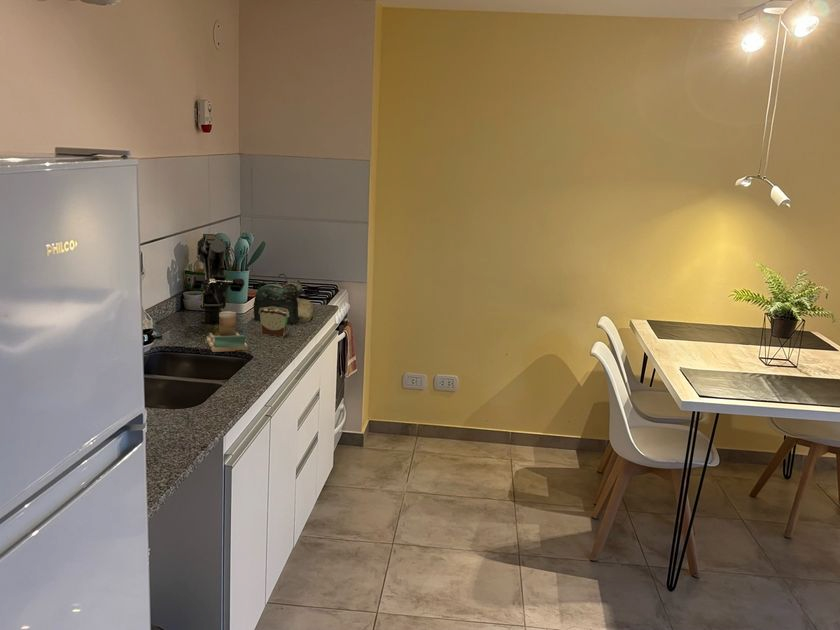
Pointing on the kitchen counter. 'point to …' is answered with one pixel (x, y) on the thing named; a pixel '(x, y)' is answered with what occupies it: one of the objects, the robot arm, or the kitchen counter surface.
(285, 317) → the food container
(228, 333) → the brown cup
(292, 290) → the ceramic cat
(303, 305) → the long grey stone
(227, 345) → the maple mount
